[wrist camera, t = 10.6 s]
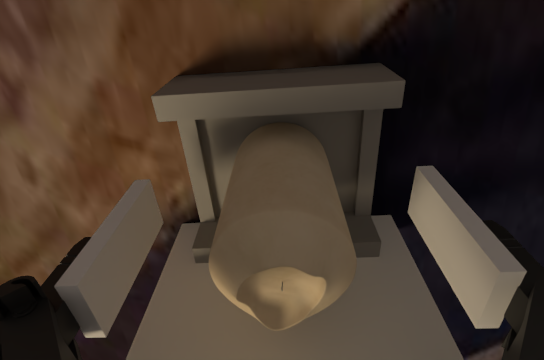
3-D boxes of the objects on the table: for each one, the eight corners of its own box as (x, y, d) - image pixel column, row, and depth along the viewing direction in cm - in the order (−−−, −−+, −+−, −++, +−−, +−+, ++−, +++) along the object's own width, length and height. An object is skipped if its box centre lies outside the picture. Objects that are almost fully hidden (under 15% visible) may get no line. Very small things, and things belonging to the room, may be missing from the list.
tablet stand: (186, 240, 24) (92, 494, 12) (142, 78, 18) (-151, 263, 6) (388, 232, 23) (508, 495, 11) (415, 60, 17) (758, 230, 5)
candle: (313, 207, 21) (337, 359, 12) (230, 193, 20) (194, 340, 12) (338, 130, 18) (393, 256, 9) (242, 112, 17) (207, 225, 9)
